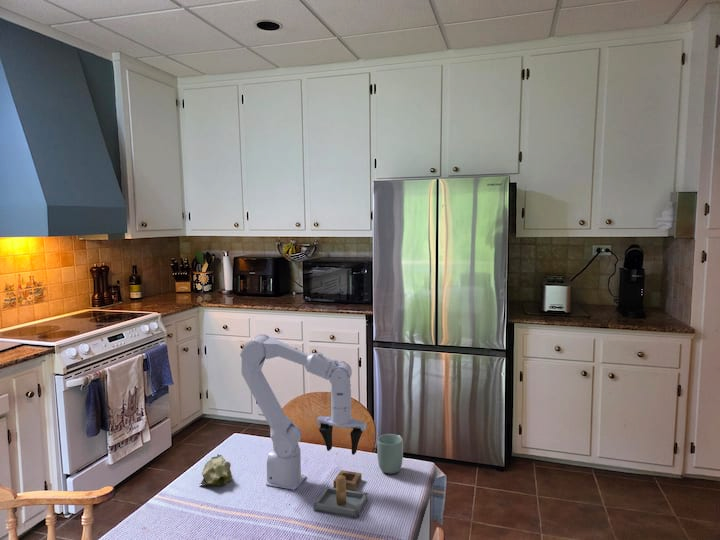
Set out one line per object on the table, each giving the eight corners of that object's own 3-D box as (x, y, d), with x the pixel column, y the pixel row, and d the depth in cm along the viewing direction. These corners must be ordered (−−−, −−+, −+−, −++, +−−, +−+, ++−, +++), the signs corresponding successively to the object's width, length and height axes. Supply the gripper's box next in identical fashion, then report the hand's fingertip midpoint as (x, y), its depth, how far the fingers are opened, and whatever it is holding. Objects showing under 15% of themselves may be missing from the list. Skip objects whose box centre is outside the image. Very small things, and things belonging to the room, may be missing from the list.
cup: (401, 478, 143) (401, 445, 142) (375, 475, 144) (375, 443, 143) (404, 465, 150) (404, 434, 150) (379, 463, 152) (379, 432, 151)
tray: (314, 510, 126) (313, 504, 126) (326, 492, 135) (326, 486, 135) (357, 518, 123) (357, 511, 123) (367, 499, 131) (367, 493, 131)
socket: (333, 487, 138) (333, 480, 138) (341, 476, 144) (341, 470, 144) (354, 490, 136) (354, 484, 136) (361, 479, 142) (361, 473, 142)
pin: (335, 504, 128) (334, 479, 127) (338, 499, 130) (337, 474, 130) (344, 506, 127) (343, 480, 127) (347, 500, 130) (347, 475, 129)
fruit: (209, 478, 147) (212, 451, 147) (237, 483, 145) (240, 456, 145) (192, 488, 138) (196, 459, 138) (222, 494, 136) (226, 465, 136)
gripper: (369, 403, 139) (369, 448, 140) (323, 398, 144) (324, 442, 145) (361, 412, 133) (362, 459, 134) (313, 406, 137) (314, 452, 138)
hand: (341, 451), depth 139 cm, fingers open, 7 cm apart
